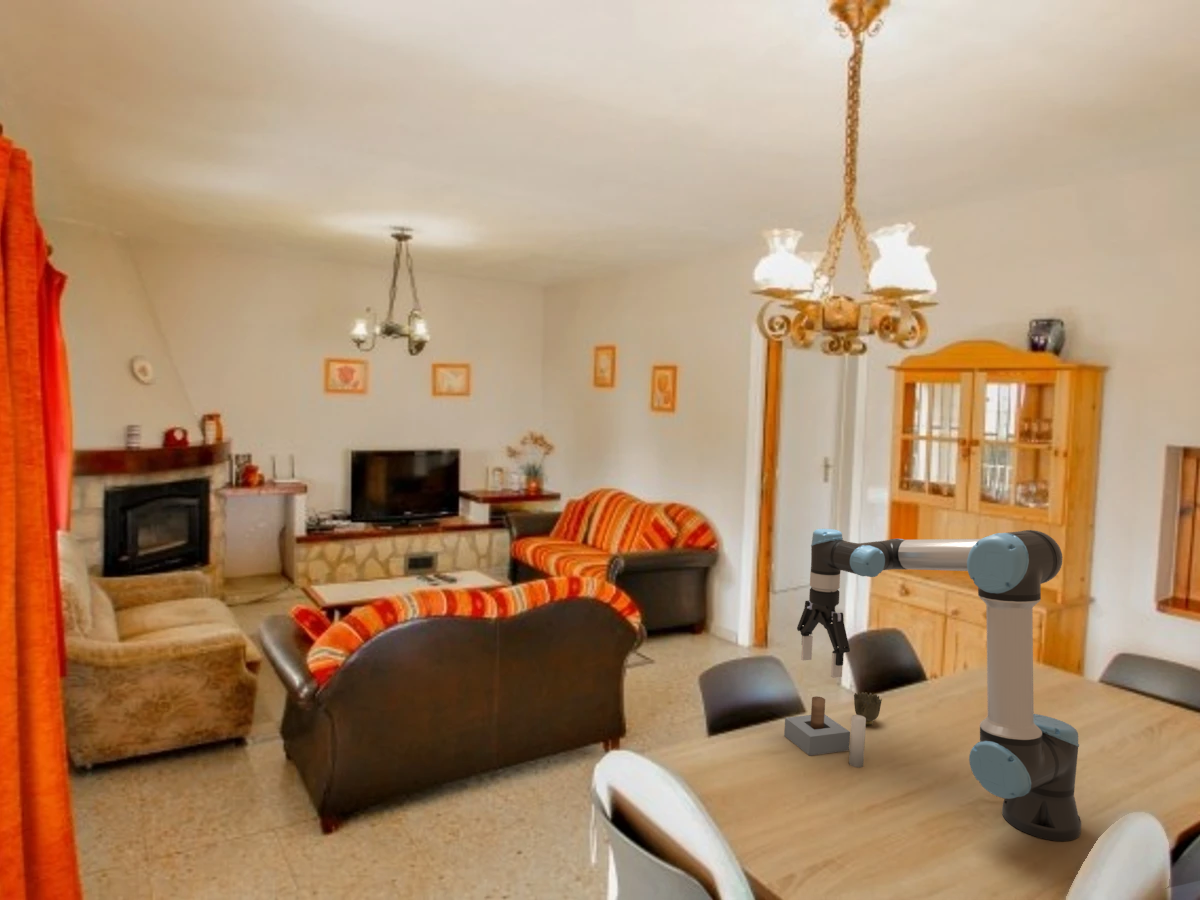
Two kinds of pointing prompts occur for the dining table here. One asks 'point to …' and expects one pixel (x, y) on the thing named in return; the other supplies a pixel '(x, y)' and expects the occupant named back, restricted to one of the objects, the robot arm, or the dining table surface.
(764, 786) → the dining table surface
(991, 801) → the dining table surface
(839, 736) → the socket block
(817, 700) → the walnut peg
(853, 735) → the pale grey cylinder
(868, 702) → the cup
